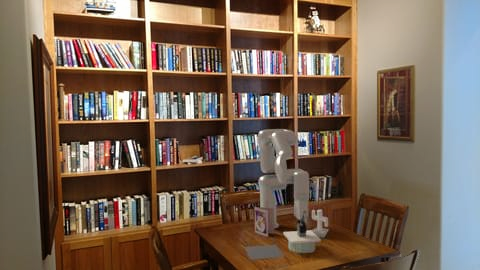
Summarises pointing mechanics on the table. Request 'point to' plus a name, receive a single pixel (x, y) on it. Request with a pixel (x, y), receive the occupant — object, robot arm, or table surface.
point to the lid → (301, 236)
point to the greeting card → (264, 221)
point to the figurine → (320, 224)
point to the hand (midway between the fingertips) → (301, 230)
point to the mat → (263, 252)
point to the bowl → (302, 247)
